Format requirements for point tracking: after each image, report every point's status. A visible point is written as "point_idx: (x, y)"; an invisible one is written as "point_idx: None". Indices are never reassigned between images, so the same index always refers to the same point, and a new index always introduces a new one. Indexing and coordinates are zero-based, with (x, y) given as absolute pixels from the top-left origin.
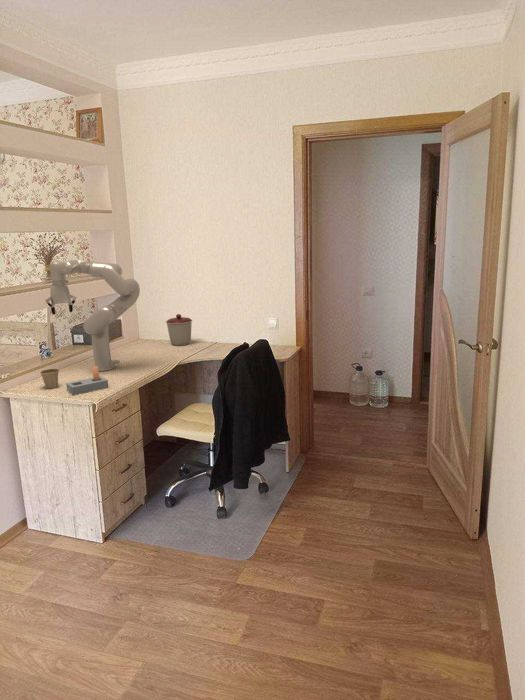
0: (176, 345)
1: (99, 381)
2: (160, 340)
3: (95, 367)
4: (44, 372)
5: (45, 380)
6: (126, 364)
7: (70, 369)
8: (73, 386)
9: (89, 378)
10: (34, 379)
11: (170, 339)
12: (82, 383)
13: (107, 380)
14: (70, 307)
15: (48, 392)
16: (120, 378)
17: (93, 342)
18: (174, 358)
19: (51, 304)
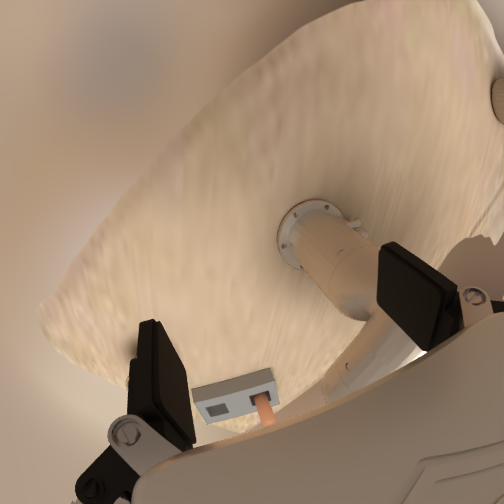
0: (494, 110)
1: None
2: (478, 23)
3: (268, 425)
4: None
5: None
6: (376, 220)
7: (205, 183)
8: (209, 420)
9: (247, 389)
10: (87, 263)
11: (500, 95)
12: (228, 410)
13: (279, 403)
14: (411, 335)
15: None
16: (316, 346)
17: (333, 303)
18: (458, 226)
19: (143, 468)
